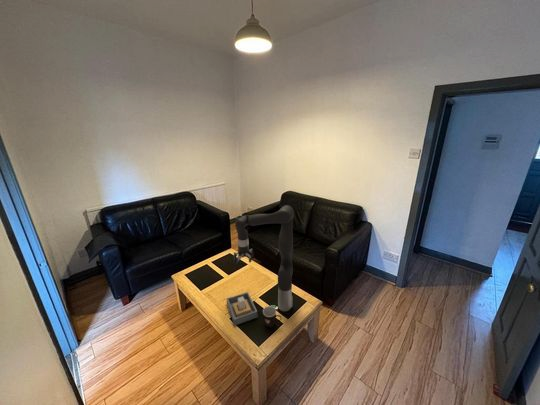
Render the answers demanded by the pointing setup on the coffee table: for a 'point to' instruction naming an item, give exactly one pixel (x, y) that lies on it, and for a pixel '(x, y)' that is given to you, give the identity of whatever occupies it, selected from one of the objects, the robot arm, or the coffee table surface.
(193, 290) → the coffee table surface
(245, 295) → the walled box
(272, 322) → the coffee mug
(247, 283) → the coffee table surface
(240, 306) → the peg
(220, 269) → the coffee table surface
